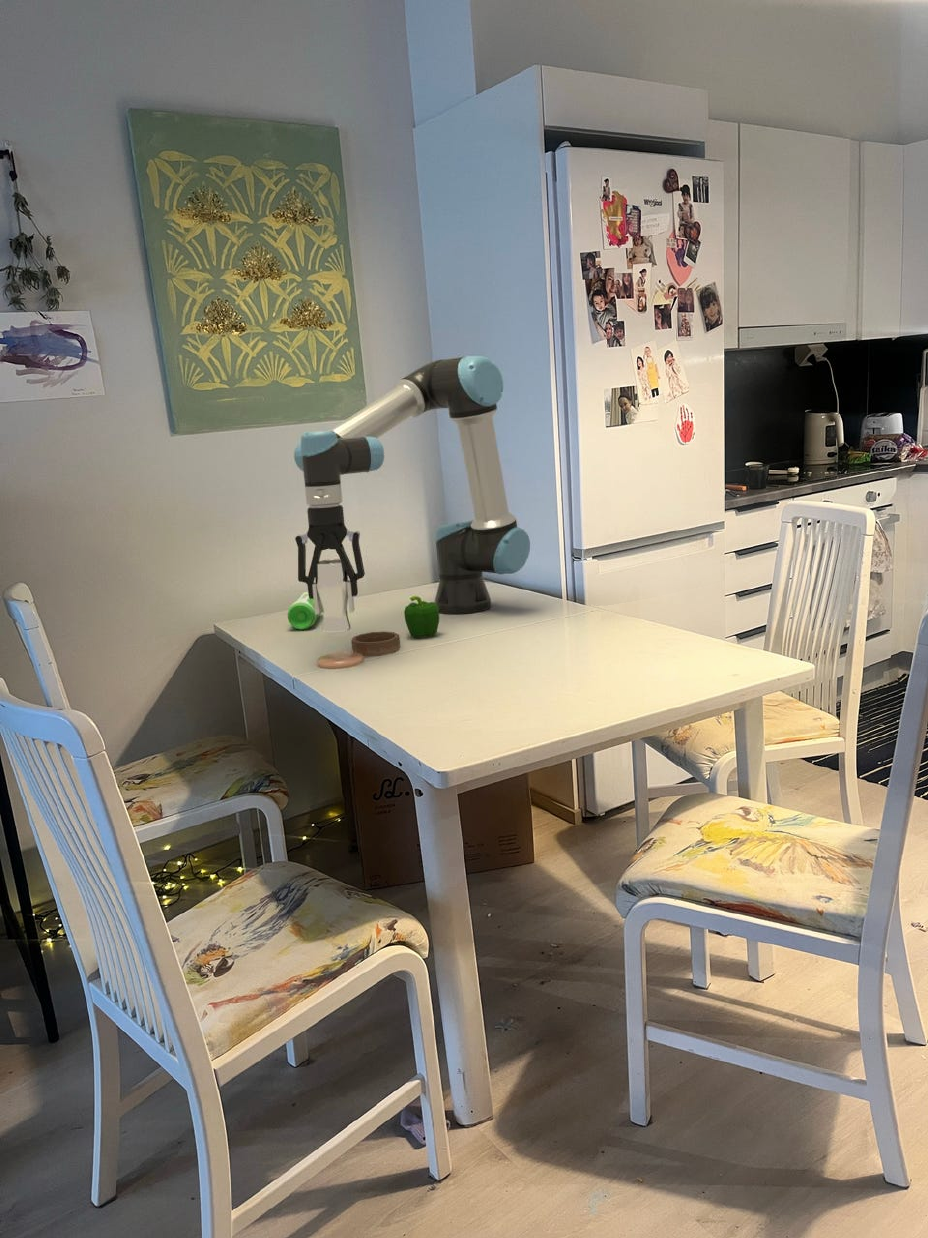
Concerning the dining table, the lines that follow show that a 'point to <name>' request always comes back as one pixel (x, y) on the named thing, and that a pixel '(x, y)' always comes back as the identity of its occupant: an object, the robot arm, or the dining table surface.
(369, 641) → the walnut collar
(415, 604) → the bell pepper
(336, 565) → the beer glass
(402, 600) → the dining table surface
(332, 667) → the pinkish-brown smooth disc
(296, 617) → the speaker
